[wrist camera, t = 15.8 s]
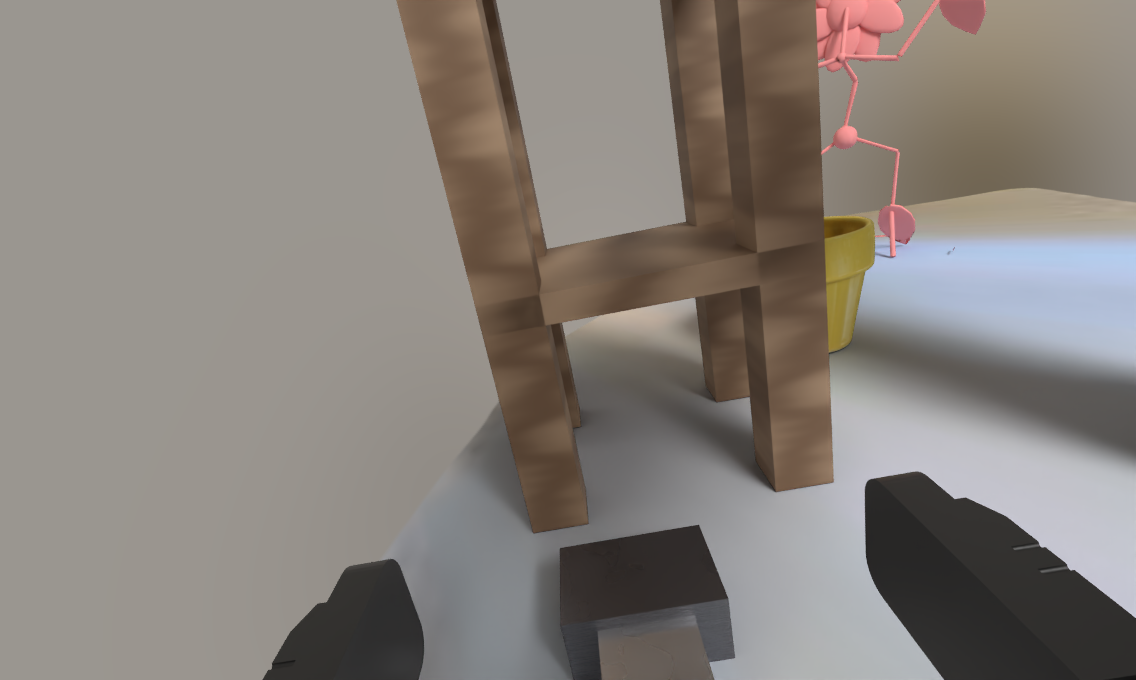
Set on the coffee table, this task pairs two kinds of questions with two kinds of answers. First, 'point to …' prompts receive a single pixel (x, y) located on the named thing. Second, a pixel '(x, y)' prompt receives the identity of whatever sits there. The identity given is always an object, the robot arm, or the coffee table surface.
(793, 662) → the coffee table surface
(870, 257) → the plant pot
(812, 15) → the walnut stand
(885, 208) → the figurine
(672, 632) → the brushed grey block
